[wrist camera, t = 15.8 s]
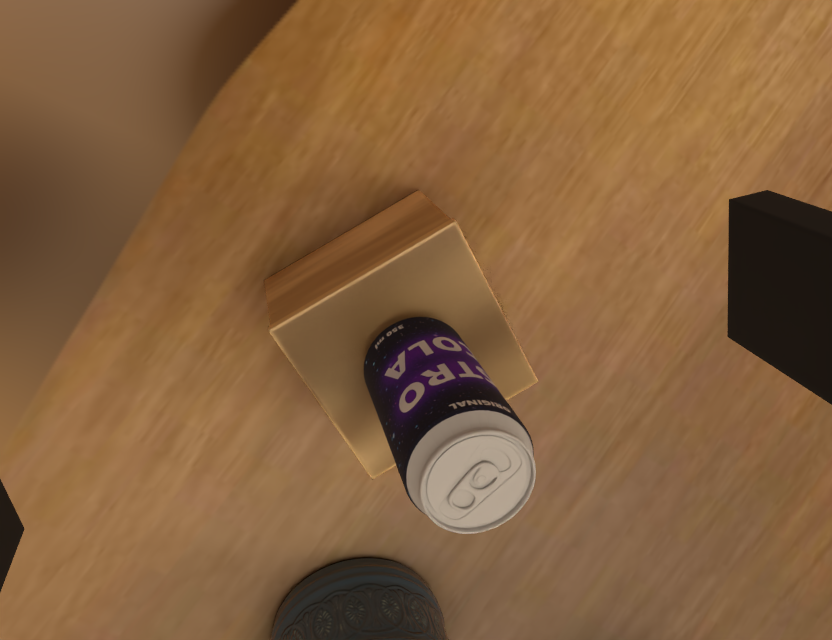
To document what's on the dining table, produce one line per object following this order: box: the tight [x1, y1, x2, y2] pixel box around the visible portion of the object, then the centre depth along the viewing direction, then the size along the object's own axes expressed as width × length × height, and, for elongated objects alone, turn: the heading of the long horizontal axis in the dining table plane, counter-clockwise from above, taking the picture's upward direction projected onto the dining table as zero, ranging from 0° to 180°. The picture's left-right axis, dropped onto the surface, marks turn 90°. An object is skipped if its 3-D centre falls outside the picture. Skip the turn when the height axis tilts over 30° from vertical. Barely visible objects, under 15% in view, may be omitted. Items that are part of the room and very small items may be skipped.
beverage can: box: [364, 317, 536, 534], centre depth 35 cm, size 6×6×12 cm
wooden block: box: [264, 190, 538, 479], centre depth 44 cm, size 11×11×8 cm
